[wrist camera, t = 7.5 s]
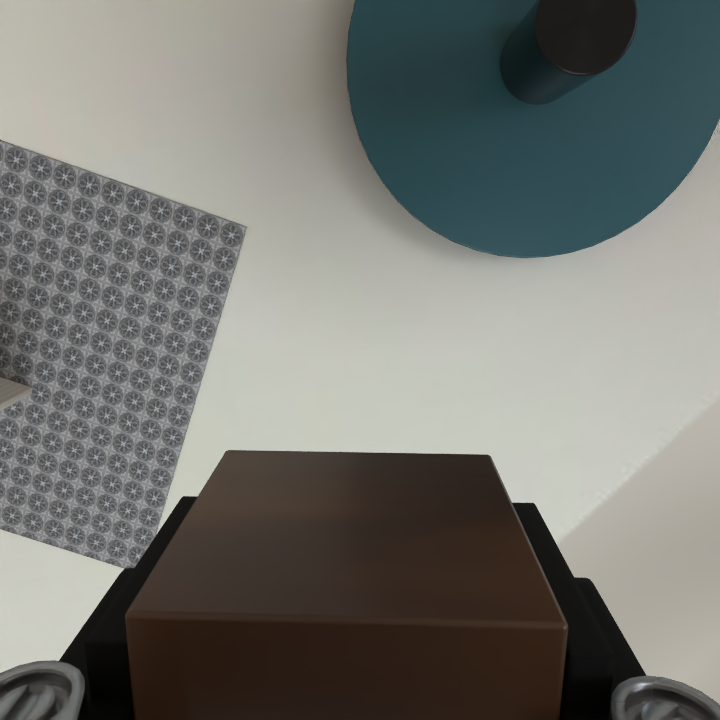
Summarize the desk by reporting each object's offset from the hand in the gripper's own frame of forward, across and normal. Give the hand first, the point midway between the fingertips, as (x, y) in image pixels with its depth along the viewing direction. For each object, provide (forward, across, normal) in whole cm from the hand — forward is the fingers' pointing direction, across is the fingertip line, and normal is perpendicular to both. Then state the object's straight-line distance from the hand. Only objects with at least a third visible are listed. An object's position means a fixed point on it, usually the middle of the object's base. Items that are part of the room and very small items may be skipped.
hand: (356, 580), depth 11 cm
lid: (+17, -6, -12) cm, 21 cm away
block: (0, 0, 0) cm, 0 cm away
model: (+17, +20, -1) cm, 26 cm away
